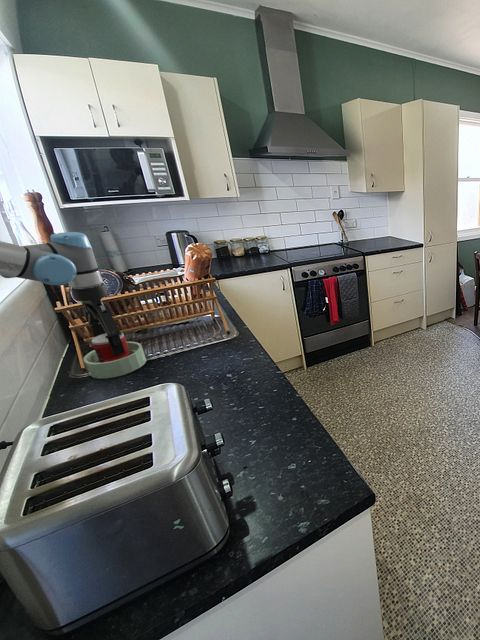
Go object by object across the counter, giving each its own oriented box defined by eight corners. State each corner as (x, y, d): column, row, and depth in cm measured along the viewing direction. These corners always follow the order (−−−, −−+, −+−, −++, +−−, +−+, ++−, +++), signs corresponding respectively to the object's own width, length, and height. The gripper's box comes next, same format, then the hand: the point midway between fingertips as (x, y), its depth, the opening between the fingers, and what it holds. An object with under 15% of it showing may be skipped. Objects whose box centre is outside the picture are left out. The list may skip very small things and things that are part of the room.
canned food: (139, 360, 119) (129, 332, 114) (118, 373, 112) (106, 343, 107) (119, 359, 119) (108, 330, 115) (97, 371, 112) (84, 341, 108)
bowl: (101, 385, 107) (93, 369, 104) (83, 370, 113) (76, 354, 111) (155, 364, 118) (149, 349, 115) (135, 352, 125) (130, 337, 122)
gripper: (120, 290, 101) (141, 354, 109) (87, 275, 112) (109, 333, 121) (86, 297, 95) (112, 364, 104) (56, 280, 106) (81, 341, 115)
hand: (110, 348), depth 112 cm, fingers open, 12 cm apart
